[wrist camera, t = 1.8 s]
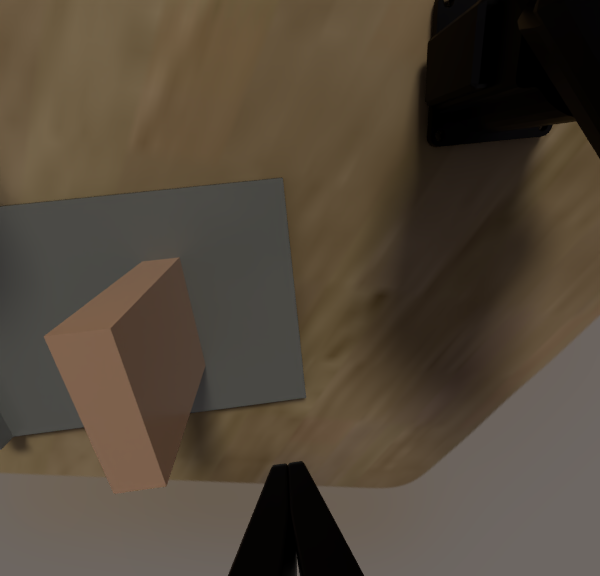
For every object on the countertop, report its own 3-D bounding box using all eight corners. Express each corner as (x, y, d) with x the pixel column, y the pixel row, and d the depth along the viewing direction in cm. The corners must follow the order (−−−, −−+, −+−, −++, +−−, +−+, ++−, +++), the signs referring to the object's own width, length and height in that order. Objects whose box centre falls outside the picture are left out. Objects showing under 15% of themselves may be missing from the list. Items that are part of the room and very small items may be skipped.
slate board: (282, 177, 17) (283, 179, 15) (304, 389, 22) (307, 408, 20) (-113, 217, 16) (-157, 223, 14) (7, 428, 21) (-16, 451, 20)
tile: (179, 257, 17) (110, 328, 10) (205, 365, 20) (166, 486, 12) (140, 261, 17) (39, 336, 10) (171, 369, 20) (111, 494, 12)
